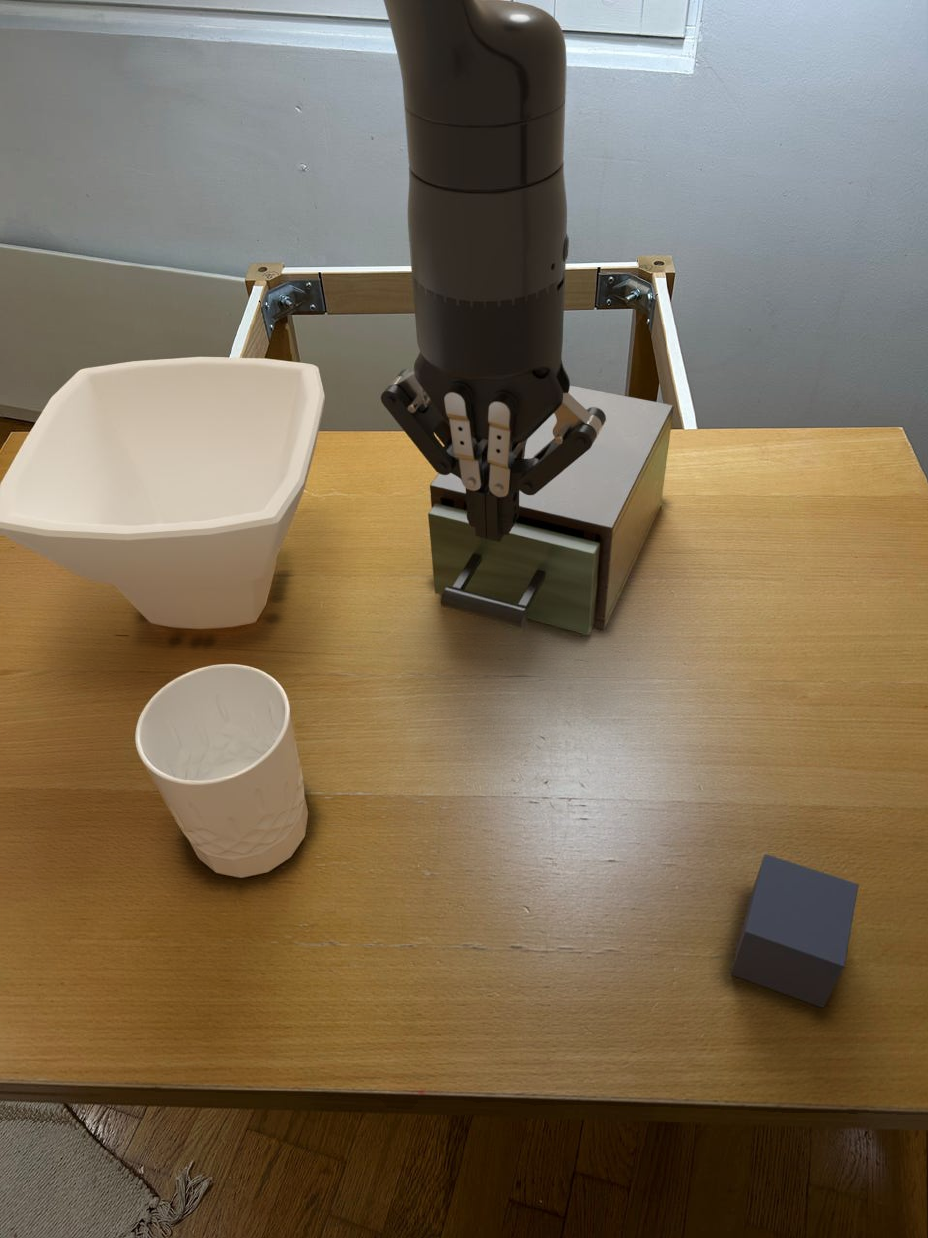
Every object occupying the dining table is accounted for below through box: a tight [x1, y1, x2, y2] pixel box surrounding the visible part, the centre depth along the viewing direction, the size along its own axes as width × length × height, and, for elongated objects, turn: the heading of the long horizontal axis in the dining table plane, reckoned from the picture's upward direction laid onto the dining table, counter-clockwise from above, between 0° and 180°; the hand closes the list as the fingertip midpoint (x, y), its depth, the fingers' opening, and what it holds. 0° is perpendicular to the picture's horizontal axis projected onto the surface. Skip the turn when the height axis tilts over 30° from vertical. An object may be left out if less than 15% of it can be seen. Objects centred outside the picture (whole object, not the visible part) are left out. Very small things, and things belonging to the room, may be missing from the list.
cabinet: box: [429, 385, 675, 631], centre depth 71 cm, size 15×13×9 cm
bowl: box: [0, 356, 326, 630], centre depth 67 cm, size 19×19×14 cm
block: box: [730, 853, 859, 1009], centre depth 49 cm, size 5×5×5 cm
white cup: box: [134, 663, 309, 879], centre depth 54 cm, size 8×8×10 cm
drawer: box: [427, 500, 600, 636], centre depth 68 cm, size 18×11×7 cm, turn 157°
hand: (493, 531), depth 60 cm, fingers closed
